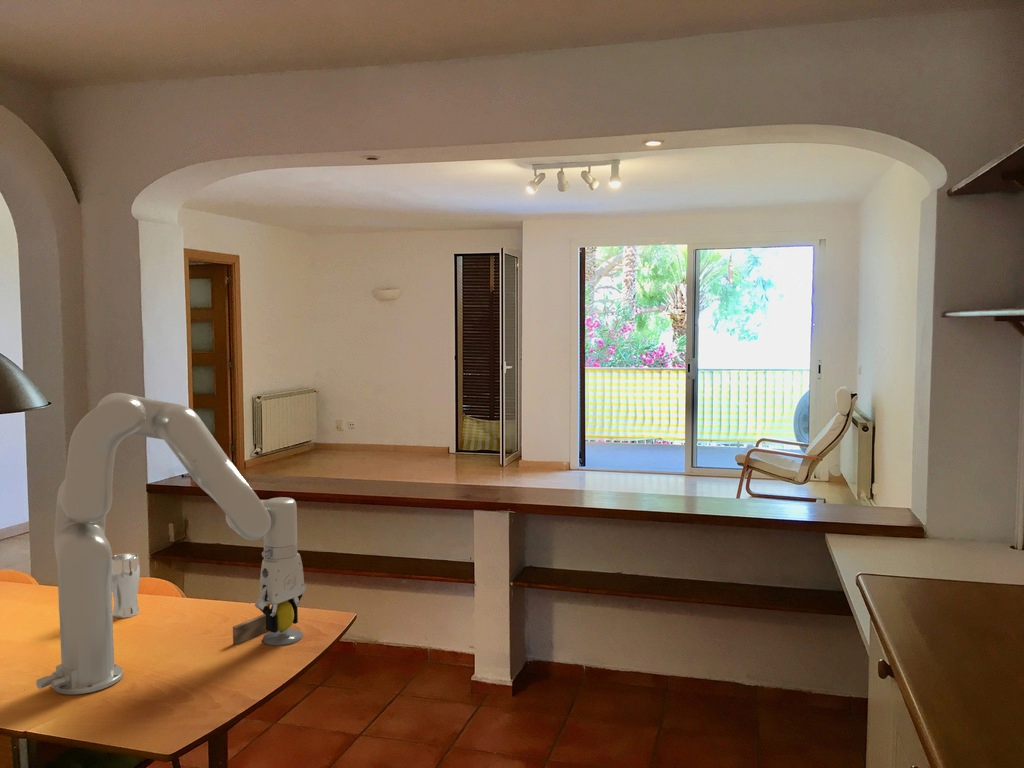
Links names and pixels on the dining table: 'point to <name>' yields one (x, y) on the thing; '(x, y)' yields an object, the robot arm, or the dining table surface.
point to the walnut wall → (249, 629)
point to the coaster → (282, 637)
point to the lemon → (284, 616)
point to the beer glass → (125, 584)
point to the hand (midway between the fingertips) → (282, 626)
